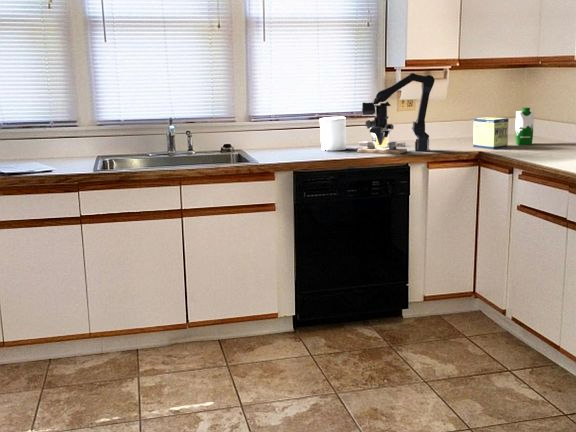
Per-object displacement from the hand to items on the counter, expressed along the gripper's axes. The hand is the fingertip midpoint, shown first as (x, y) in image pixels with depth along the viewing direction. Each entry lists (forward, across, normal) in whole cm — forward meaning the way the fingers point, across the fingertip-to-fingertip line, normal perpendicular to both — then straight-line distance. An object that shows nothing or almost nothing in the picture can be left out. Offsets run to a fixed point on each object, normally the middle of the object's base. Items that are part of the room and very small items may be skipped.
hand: (381, 144), depth 364 cm
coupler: (+1, 0, 0) cm, 1 cm away
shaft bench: (+4, 0, 0) cm, 4 cm away
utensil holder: (+4, -4, -31) cm, 32 cm away
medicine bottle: (+4, -24, -11) cm, 27 cm away
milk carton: (+4, -48, +63) cm, 79 cm away
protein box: (+4, -32, +49) cm, 59 cm away
